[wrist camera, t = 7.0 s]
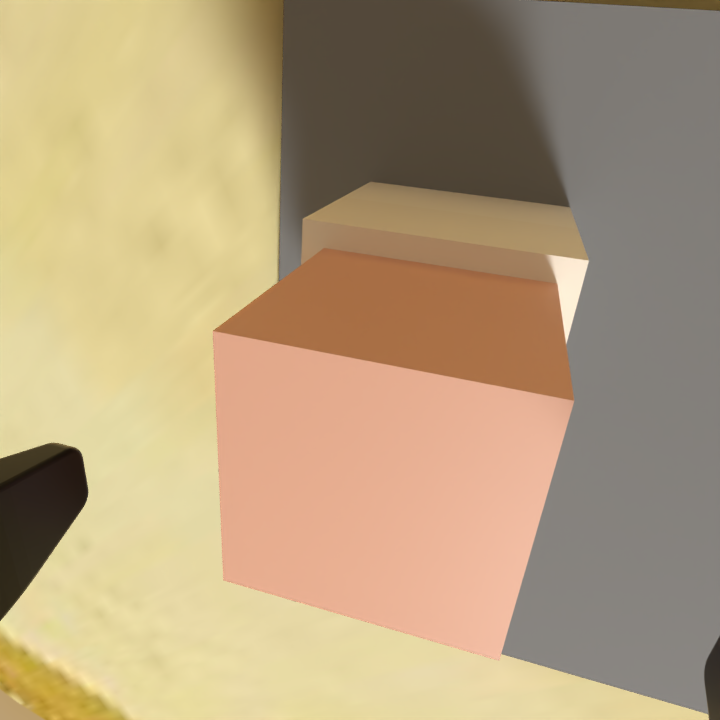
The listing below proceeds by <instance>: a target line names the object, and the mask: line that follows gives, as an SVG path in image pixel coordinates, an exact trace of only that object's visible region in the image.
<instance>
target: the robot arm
mask: <svg viewBox="0 0 720 720" xmlns="http://www.w3.org/2000/svg"><path fill="white" fill-rule="evenodd" d="M87 497H88V485H87V479H86V474H85V468H84V462H83V457H82V454H81V452H80V451H79V450H78V449H77V448H75V447H71V446H67V445H63V444H59V443H49V444H45V445H42V446H39V447H36V448H33V449H29V450H26V451H23V452H20V453H17V454H14V455H10V456H7V457H4V458H1V459H0V621H1V620H2V618H3V617H4V616H5V615H6V614H7V612H8V611H9V610H10V609H11V608H12V606H13V605H14V604H15V603H16V601H17V600H18V599H19V598H20V596H21V595H22V594H23V593H24V591H25V590H26V588H27V587H28V586H29V584H30V583H31V582H32V580H33V579H34V577H35V576H36V575H37V573H38V572H39V570H40V569H41V567H42V566H43V565H44V563H45V562H46V560H47V559H48V557H49V556H50V555H51V553H52V552H53V550H54V549H55V547H56V546H57V544H58V543H59V542H60V540H61V539H62V537H63V536H64V534H65V533H66V532H67V530H68V529H69V527H70V526H71V524H72V523H73V522H74V520H75V519H76V517H77V516H78V514H79V513H80V511H81V510H82V509H83V507H84V505H85V503H86V501H87ZM704 683H705V691H706V699H707V707H708V715H709V720H720V636H719V638H718V639H717V641H716V643H715V645H714V647H713V649H712V650H711V652H710V654H709V656H708V658H707V660H706V664H705V669H704Z"/></svg>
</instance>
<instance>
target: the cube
mask: <svg viewBox="0 0 720 720" xmlns="http://www.w3.org/2000/svg"><path fill="white" fill-rule="evenodd" d="M213 346H214V370H215V393H216V417H217V440H218V464H219V487H220V511H221V534H222V558H223V580H224V581H228V582H231V583H235V584H238V585H241V586H245V587H248V588H252V589H255V590H259V591H262V592H265V593H269V594H272V595H276V596H279V597H283V598H286V599H289V600H293V601H296V602H300V603H303V604H307V605H310V606H313V607H317V608H320V609H324V610H327V611H331V612H334V613H337V614H341V615H344V616H348V617H351V618H355V619H358V620H361V621H365V622H368V623H372V624H375V625H379V626H382V627H385V628H389V629H392V630H396V631H399V632H403V633H406V634H409V635H413V636H416V637H420V638H423V639H427V640H430V641H434V642H437V643H440V644H444V645H447V646H451V647H454V648H458V649H461V650H464V651H468V652H471V653H475V654H478V655H482V656H485V657H488V658H492V659H495V660H499V659H500V656H501V653H502V649H503V646H504V642H505V639H506V635H507V632H508V628H509V625H510V621H511V618H512V615H513V611H514V608H515V604H516V601H517V597H518V594H519V590H520V587H521V583H522V580H523V577H524V573H525V570H526V566H527V563H528V559H529V556H530V552H531V549H532V545H533V542H534V539H535V535H536V532H537V528H538V525H539V521H540V518H541V514H542V511H543V507H544V504H545V500H546V497H547V494H548V490H549V487H550V483H551V480H552V476H553V473H554V469H555V466H556V462H557V459H558V456H559V452H560V449H561V445H562V442H563V438H564V435H565V431H566V428H567V424H568V421H569V418H570V414H571V411H572V407H573V404H574V395H573V388H572V381H571V374H570V368H569V361H568V354H567V347H566V340H565V333H564V326H563V319H562V312H561V305H560V298H559V291H558V285H557V284H556V283H550V282H543V281H536V280H530V279H523V278H517V277H510V276H504V275H497V274H491V273H484V272H478V271H471V270H465V269H458V268H452V267H445V266H439V265H432V264H426V263H419V262H413V261H406V260H399V259H393V258H386V257H380V256H373V255H367V254H360V253H354V252H347V251H341V250H334V249H328V248H323V249H322V250H321V251H319V252H318V253H317V254H315V255H314V256H313V257H311V258H310V259H309V260H307V261H306V262H305V263H303V264H302V265H301V266H299V267H298V268H297V269H295V270H294V271H293V272H291V273H290V274H289V275H287V276H286V277H285V278H283V279H282V280H281V281H279V282H278V283H277V284H275V285H274V286H273V287H271V288H270V289H268V290H267V291H266V292H264V293H263V294H262V295H260V296H259V297H258V298H256V299H255V300H254V301H252V302H251V303H250V304H248V305H247V306H246V307H244V308H243V309H242V310H240V311H239V312H238V313H236V314H235V315H234V316H232V317H231V318H230V319H228V320H227V321H226V322H224V323H223V324H222V325H220V326H219V327H218V328H216V329H215V330H214V331H213Z"/></svg>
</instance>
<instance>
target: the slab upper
mask: <svg viewBox="0 0 720 720" xmlns="http://www.w3.org/2000/svg"><path fill="white" fill-rule="evenodd" d="M323 248H328V249H334V250H341V251H347V252H354V253H360V254H367V255H373V256H380V257H386V258H393V259H399V260H406V261H413V262H419V263H426V264H432V265H439V266H445V267H452V268H458V269H465V270H471V271H478V272H484V273H491V274H497V275H504V276H510V277H517V278H523V279H530V280H536V281H543V282H550V283H556V284H557V285H558V291H559V298H560V305H561V312H562V319H563V326H564V333H565V340H566V344H567V340H568V336H569V332H570V329H571V325H572V321H573V318H574V314H575V310H576V307H577V303H578V299H579V296H580V292H581V288H582V285H583V281H584V277H585V273H586V270H587V266H588V262H589V259H588V256H587V254H586V251H585V248H584V245H583V242H582V240H581V237H580V234H579V231H578V229H575V228H568V227H561V226H553V225H546V224H538V223H531V222H524V221H516V220H509V219H502V218H494V217H487V216H479V215H472V214H465V213H457V212H450V211H443V210H435V209H428V208H420V207H413V206H406V205H398V204H391V203H383V202H376V201H369V200H361V199H354V198H347V197H342V198H340V199H338V200H336V201H334V202H333V203H331V204H329V205H327V206H325V207H323V208H322V209H320V210H318V211H316V212H314V213H312V214H311V215H309V216H307V217H305V218H303V225H302V254H301V265H302V264H303V263H305V262H306V261H307V260H309V259H310V258H311V257H313V256H314V255H315V254H317V253H318V252H319V251H321V250H322V249H323Z"/></svg>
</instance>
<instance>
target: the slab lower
mask: <svg viewBox="0 0 720 720" xmlns="http://www.w3.org/2000/svg"><path fill="white" fill-rule="evenodd" d="M343 197H347V198H354V199H361V200H369V201H376V202H383V203H391V204H398V205H406V206H413V207H420V208H428V209H435V210H443V211H450V212H457V213H465V214H472V215H479V216H487V217H494V218H502V219H509V220H516V221H524V222H531V223H538V224H546V225H553V226H561V227H568V228H575V229H578V228H577V225H576V223H575V220H574V217H573V214H572V211H571V209H570V207H564V206H557V205H549V204H541V203H533V202H525V201H518V200H510V199H502V198H494V197H486V196H479V195H471V194H463V193H455V192H448V191H440V190H432V189H424V188H416V187H409V186H401V185H393V184H385V183H377V182H369V183H367V184H365V185H364V186H362V187H360V188H358V189H356V190H354V191H353V192H351V193H349V194H347V195H345V196H343Z"/></svg>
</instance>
